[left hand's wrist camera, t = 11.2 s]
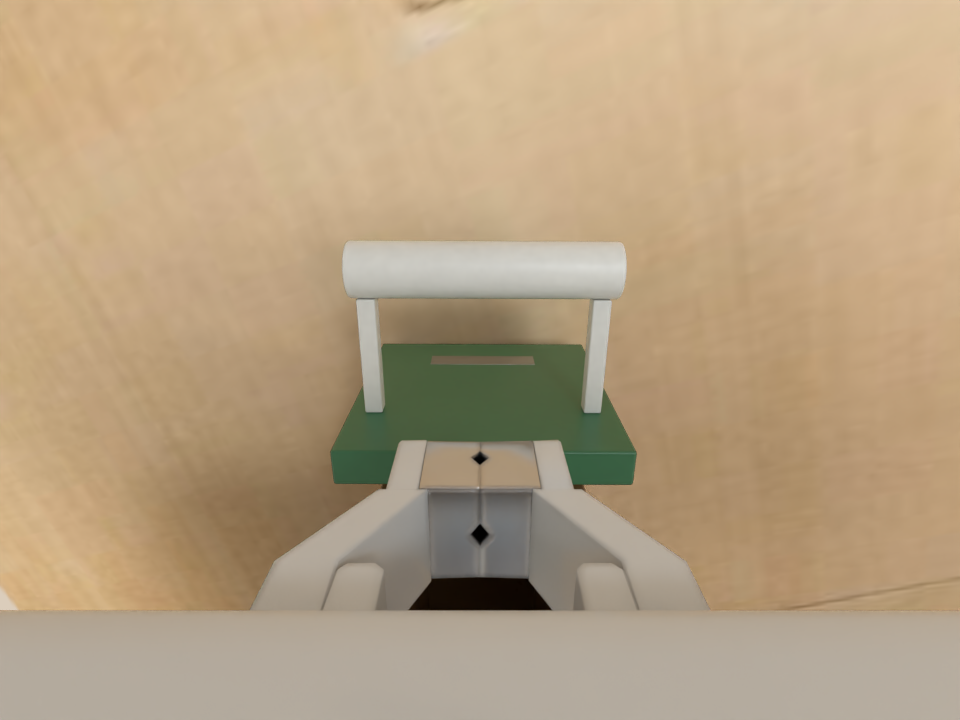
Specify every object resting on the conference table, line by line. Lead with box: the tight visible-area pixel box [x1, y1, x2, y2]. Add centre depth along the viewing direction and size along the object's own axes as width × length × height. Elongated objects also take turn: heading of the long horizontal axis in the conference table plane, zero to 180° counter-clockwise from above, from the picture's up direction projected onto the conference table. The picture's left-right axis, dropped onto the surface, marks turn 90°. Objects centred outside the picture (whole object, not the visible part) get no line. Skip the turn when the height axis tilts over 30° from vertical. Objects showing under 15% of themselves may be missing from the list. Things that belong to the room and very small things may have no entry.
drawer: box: [330, 241, 637, 610], centre depth 23 cm, size 25×9×10 cm, turn 0°
